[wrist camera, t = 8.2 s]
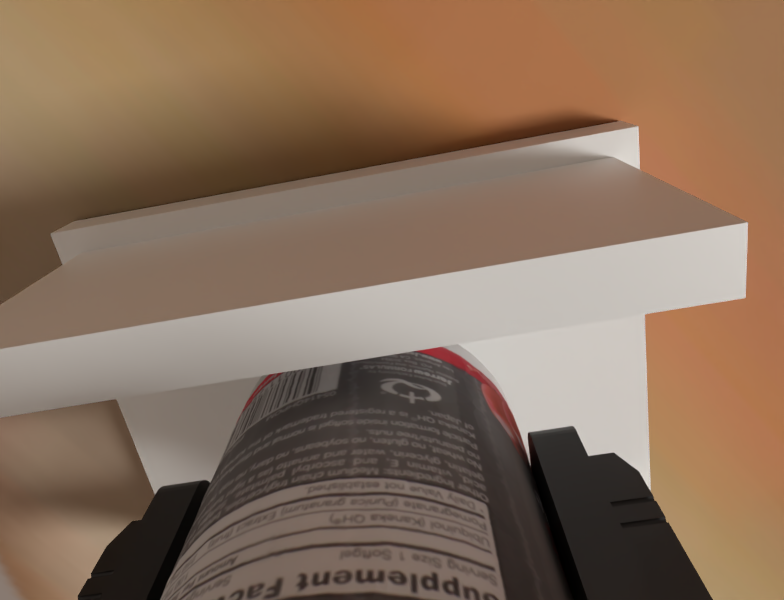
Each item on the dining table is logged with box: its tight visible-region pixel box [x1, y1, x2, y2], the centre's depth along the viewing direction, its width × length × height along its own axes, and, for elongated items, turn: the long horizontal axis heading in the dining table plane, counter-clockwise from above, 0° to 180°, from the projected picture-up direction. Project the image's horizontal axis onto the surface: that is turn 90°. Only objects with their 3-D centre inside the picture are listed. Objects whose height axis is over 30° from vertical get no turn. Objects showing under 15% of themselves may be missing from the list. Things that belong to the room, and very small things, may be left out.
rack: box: [0, 121, 748, 494], centre depth 14 cm, size 17×12×6 cm
